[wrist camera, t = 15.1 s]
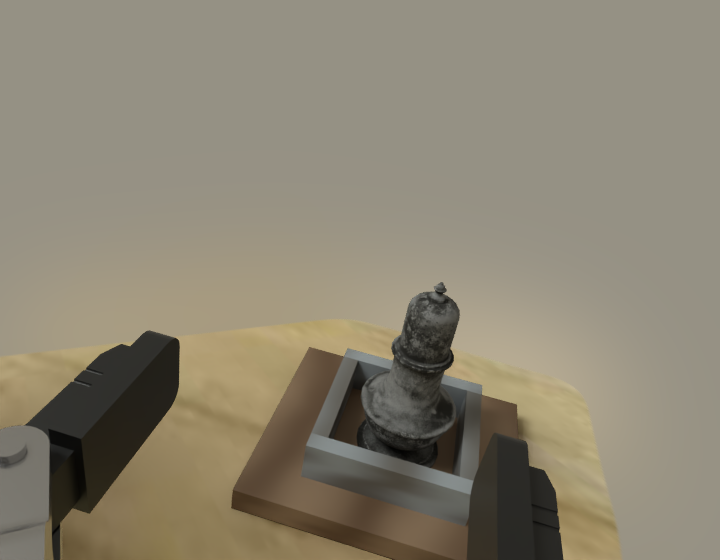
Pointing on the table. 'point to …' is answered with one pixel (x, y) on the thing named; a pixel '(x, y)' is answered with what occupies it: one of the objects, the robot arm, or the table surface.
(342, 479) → the socket stand
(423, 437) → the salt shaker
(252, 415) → the table surface
